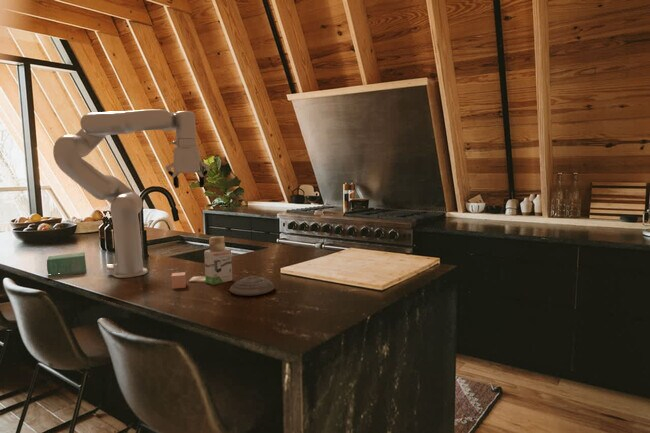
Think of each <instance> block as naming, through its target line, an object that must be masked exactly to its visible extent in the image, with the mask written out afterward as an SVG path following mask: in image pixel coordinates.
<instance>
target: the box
mask: <svg viewBox="0 0 650 433" xmlns="http://www.w3.org/2000/svg"><path fill="white" fill-rule="evenodd" d="M87 270H88V269H87V262H86V253H85V252H83V251H82V252H76V253H67V254H57V255H50V256H48V258H47V260H46V272H47V275H48V274H51V275H48V278H56V277H64V276H71V275H78V274H79V275H80V274H85V273H87ZM58 273H60V274H58Z"/></svg>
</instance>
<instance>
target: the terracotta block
mask: <svg viewBox="0 0 650 433" xmlns="http://www.w3.org/2000/svg"><path fill="white" fill-rule="evenodd" d="M170 277H171V287H172V288H171V289H184V288H186V287H187V277H186V272H185V271H181V272H172V273H171V276H170Z"/></svg>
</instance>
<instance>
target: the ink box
mask: <svg viewBox="0 0 650 433" xmlns="http://www.w3.org/2000/svg"><path fill="white" fill-rule="evenodd" d="M203 254H204V272H205V273H204V274H205V275H204V276H205V279H206V282H205V283H206V284H210V285H213V286H214V285H218V284H222V283H226V282H230V281H233V266H232V249H230V248H228V247H227V248H226V247H225V249H224V250H223V251H210V249H206V250H204V253H203Z"/></svg>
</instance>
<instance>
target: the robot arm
mask: <svg viewBox="0 0 650 433" xmlns="http://www.w3.org/2000/svg"><path fill="white" fill-rule="evenodd" d="M79 123H80V124H79V125H80V127H81V129H79V131H78V132H76V134H64V135H62V136H60V137H58V138H57V139H56V140H55V143H54V145H53V150H52V154H53V158H54V161H55V163H56V165H57V167H58V168H59V169H60V170H61V171H62V172H63V173H64V174H65V175H66V176H67V177H68V178H70V179H71V180H72V181H73V182H74V183H76V184H77V185H78V186H80V187H81V188H82V189H83V190H85V192H87V193H88V194H90V195H91V196H92V197H93V198H95V199H97V200H99V201H105V200H106V201H107V202H108V203H109V204H110V217H111V220H112V228H113V239H114V250H115V251H114V252H115V262H116V263H115V264H109V263H108V264H107V265H106V269H107V271H111V270H112V271H114V272H112V276H113V277H114V278H119V279H122V278H125V279H126V278H134V277H139V276H143V275H147V274H148V268H147V267H144V262H143V250H142V248H143V247H142V238H141V236H142V235H141V224H140V220H139V218H140V217H139V213H140V212H141V211H142V210H143V206H144V203H143V199H142V198H141V196H140V195H139V194H138V193H137V192H135V191H134V190H133V189H132V188H130V187H129V186H127V185H126V184H125V183H124V182H123V181H122V180H120V179H119V178H117V176H116V177H115V176H113V175H110V174H104V173H102V172H101V171H99V170H98V169H97V168H95V167H94V166H93V165H92V164H90V163H89V162H88V161H86V160H85V159H84V158H85V157H86V156H88V155H89V154H91V152H93V151H94V149H95V148H96V147H97V146H98V145H99V144H100V143H101V142H102V141H103V140H104V139H105V138H106V137H107V136H112V135H113V136H114V135H130V134H132V133H135V132H136V133H137V132H143V131H159V130H160V131H163V132H171V131H175V140H173V141H172V145H174V146H175V147H174V149H173V162H172V163H169V164H168V165H166V166H165V170H166V172H167V173H168V175H170V177H171V178H172V180H173V182H172V185H173V186H174V189H178V188H180V184H179V183H180V179H179V177H178V176H179V175H180V174H188V173H189V174H193V173H194V174H195V173H197V174H198V175H199V178H198V184H199V188H204V186H205V177H206V176H207V174H209V171H210V169H211V165H209V164H207V163H206V162H203V161H202V158H201V157H202V156H201V151H200V148H199V146H197V145H198V144H197V142H198V141H197V129H196V128H197V126H196V114H195V113H194V112H193V111H189V110H180V111H176V112H170V111H168V110H166V109H162V108H161V109H159V108H158V109H139V110H138V109H137V110H136V109H135V110H125V111H124V110H122V111H102V112H101V111H99V112H88V113H86V114H83V115H82V117H81V118H80V122H79ZM202 167H204V168H205V170H203V168H202ZM172 168H173V171H172V170H171V169H172ZM202 170H203V171H202Z"/></svg>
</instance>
